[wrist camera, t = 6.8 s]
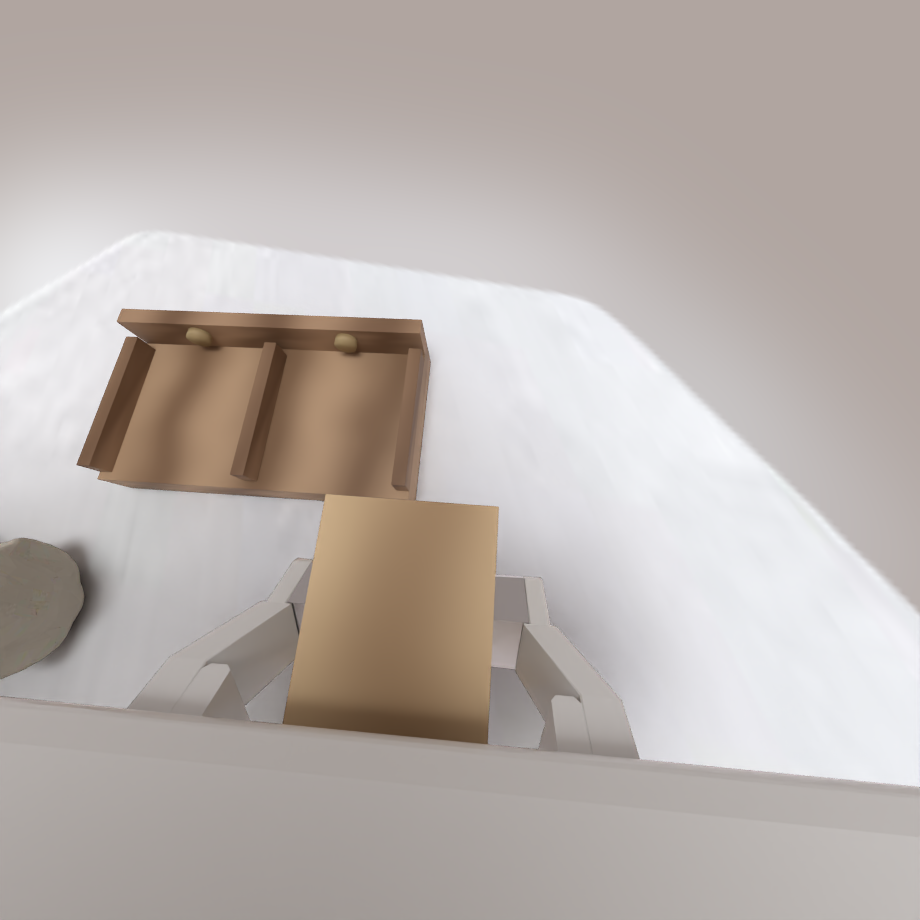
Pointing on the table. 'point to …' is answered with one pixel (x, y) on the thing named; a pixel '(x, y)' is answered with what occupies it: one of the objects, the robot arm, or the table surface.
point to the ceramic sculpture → (35, 601)
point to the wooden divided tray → (264, 405)
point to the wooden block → (398, 620)
